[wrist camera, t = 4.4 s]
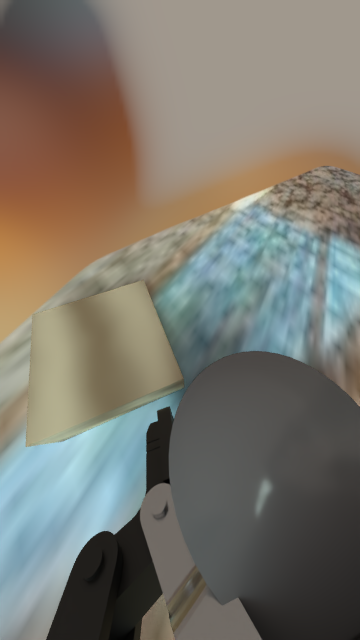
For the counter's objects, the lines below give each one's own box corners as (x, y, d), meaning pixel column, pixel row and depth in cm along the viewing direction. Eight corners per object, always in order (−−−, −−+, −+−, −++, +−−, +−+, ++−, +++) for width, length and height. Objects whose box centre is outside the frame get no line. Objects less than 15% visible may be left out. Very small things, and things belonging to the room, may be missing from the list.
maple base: (149, 301, 19) (143, 279, 16) (184, 387, 15) (183, 378, 12) (58, 332, 18) (32, 314, 15) (62, 441, 13) (25, 447, 10)
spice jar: (230, 383, 15) (291, 328, 6) (271, 460, 12) (486, 553, 3) (169, 411, 14) (142, 392, 5) (199, 501, 11) (248, 779, 2)
